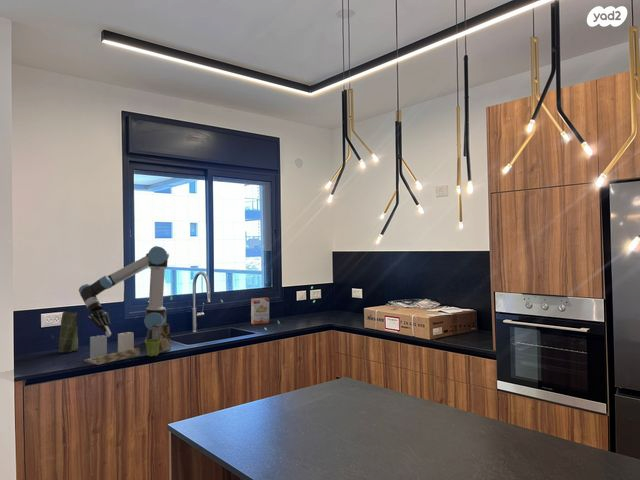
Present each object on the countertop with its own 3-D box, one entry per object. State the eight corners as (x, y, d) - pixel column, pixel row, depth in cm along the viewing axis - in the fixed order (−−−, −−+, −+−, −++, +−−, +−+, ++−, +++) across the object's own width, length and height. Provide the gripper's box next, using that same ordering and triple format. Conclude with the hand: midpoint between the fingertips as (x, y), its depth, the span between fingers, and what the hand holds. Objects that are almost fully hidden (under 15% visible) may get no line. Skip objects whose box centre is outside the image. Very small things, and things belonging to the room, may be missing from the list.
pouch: (61, 350, 291) (60, 310, 291) (82, 349, 294) (81, 309, 294) (55, 354, 280) (55, 312, 281) (77, 353, 283) (77, 311, 284)
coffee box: (163, 348, 292) (163, 323, 293) (170, 349, 289) (170, 324, 290) (151, 351, 284) (151, 325, 285) (159, 353, 281) (159, 326, 282)
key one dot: (128, 352, 278) (128, 331, 278) (133, 352, 275) (133, 332, 275) (118, 354, 272) (117, 333, 272) (123, 355, 269) (123, 334, 270)
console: (125, 352, 284) (125, 345, 284) (139, 355, 276) (139, 348, 276) (83, 361, 262) (83, 354, 262) (98, 364, 255) (98, 357, 255)
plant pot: (155, 357, 270) (155, 342, 270) (141, 356, 272) (141, 341, 272) (164, 353, 279) (164, 339, 280) (150, 353, 281) (150, 338, 281)
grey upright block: (101, 355, 269) (101, 334, 269) (106, 356, 266) (106, 335, 266) (90, 358, 263) (90, 336, 263) (95, 359, 261) (95, 337, 261)
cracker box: (253, 324, 377) (253, 299, 377) (251, 323, 382) (250, 298, 382) (269, 323, 384) (269, 297, 384) (266, 322, 389) (266, 297, 389)
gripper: (101, 308, 297) (116, 337, 287) (81, 311, 286) (96, 341, 276) (106, 300, 294) (121, 329, 284) (85, 302, 283) (101, 333, 274)
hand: (109, 335), depth 280 cm, fingers closed
